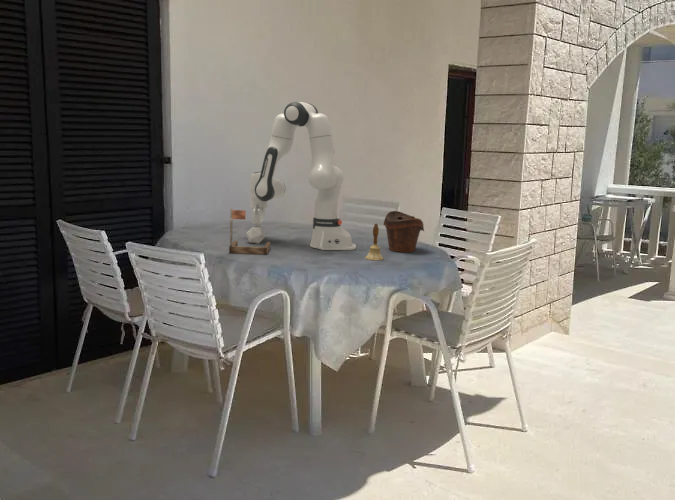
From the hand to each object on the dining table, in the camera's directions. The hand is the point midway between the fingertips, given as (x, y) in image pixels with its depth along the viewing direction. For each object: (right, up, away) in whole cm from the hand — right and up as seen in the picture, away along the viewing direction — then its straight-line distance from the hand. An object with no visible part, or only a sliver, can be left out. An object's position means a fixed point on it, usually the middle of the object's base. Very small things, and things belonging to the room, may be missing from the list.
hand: (258, 230), depth 340 cm
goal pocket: (0, -10, -29) cm, 31 cm away
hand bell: (+57, -14, -38) cm, 70 cm away
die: (0, -6, -9) cm, 11 cm away
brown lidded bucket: (+72, -10, -14) cm, 74 cm away
